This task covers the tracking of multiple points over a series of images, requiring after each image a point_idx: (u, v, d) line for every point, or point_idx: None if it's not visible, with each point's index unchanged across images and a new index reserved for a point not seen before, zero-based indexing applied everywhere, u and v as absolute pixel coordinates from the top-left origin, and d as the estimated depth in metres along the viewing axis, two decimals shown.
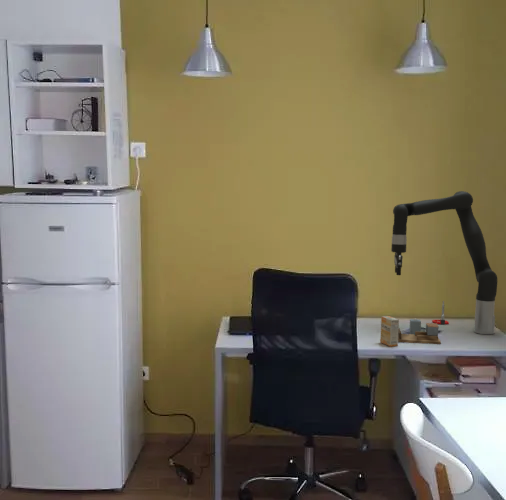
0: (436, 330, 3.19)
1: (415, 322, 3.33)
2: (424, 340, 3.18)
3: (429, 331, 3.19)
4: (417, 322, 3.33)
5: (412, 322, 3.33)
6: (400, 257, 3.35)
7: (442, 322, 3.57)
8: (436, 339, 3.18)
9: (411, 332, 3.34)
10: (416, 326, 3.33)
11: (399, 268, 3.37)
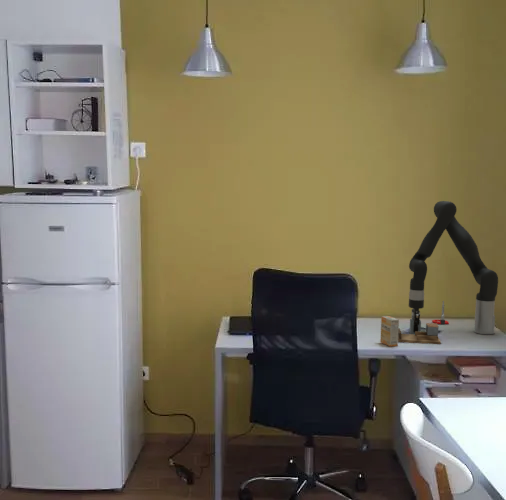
0: (436, 330, 3.19)
1: None
2: (424, 340, 3.18)
3: (429, 331, 3.19)
4: None
5: (412, 322, 3.33)
6: (418, 316, 3.28)
7: (442, 322, 3.57)
8: (436, 339, 3.18)
9: (411, 332, 3.34)
10: None
11: (416, 325, 3.32)
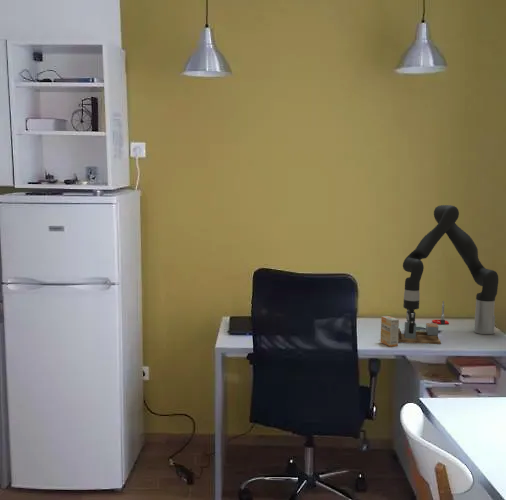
0: (436, 330, 3.19)
1: None
2: (424, 340, 3.18)
3: (429, 331, 3.19)
4: None
5: (407, 325, 3.21)
6: (413, 315, 3.15)
7: (442, 322, 3.57)
8: (436, 339, 3.18)
9: (406, 336, 3.22)
10: None
11: (412, 326, 3.18)
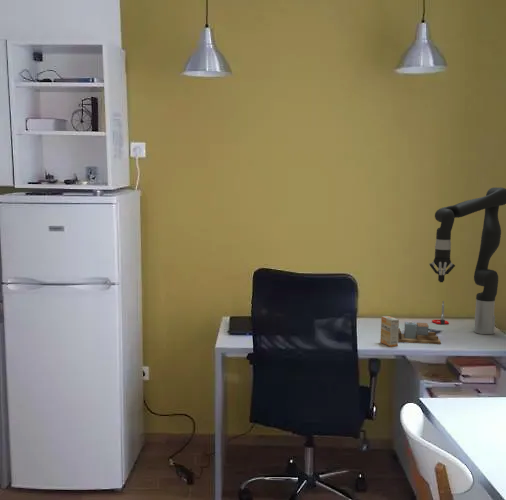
0: (426, 330, 3.19)
1: (410, 325, 3.21)
2: (424, 340, 3.18)
3: (419, 331, 3.20)
4: (412, 325, 3.21)
5: (407, 325, 3.21)
6: (430, 265, 3.32)
7: (442, 322, 3.57)
8: (436, 339, 3.18)
9: (406, 336, 3.22)
10: (411, 329, 3.21)
11: (438, 275, 3.32)
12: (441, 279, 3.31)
